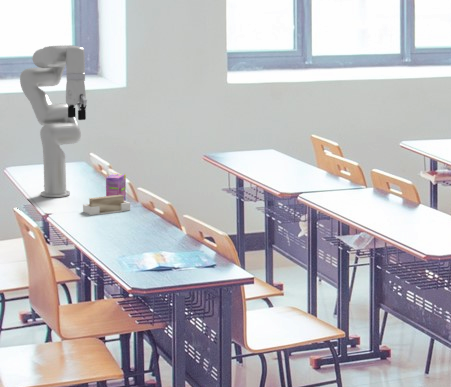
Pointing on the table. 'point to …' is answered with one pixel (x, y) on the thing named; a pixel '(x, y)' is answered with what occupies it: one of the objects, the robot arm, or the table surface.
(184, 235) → the table surface
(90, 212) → the endcaps
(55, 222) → the table surface
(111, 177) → the box
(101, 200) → the slat
